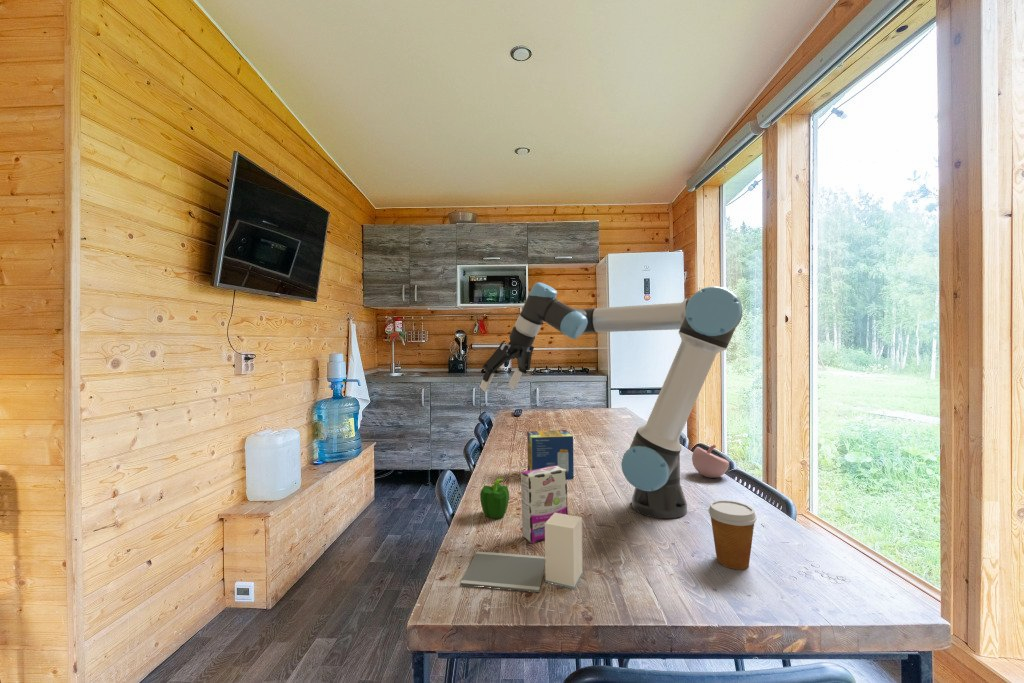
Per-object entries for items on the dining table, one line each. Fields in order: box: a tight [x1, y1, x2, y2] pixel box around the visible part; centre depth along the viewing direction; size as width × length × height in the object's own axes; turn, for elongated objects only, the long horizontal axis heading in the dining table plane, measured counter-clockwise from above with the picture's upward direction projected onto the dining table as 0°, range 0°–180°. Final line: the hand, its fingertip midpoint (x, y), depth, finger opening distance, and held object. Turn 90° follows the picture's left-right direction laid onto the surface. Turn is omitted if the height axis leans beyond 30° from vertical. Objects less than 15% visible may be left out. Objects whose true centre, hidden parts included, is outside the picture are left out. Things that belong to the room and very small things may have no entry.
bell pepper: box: [479, 478, 510, 520], centre depth 121 cm, size 8×8×10 cm
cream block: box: [544, 513, 584, 590], centre depth 88 cm, size 6×6×12 cm
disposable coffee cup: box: [707, 499, 758, 570], centre depth 94 cm, size 10×10×12 cm
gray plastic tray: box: [459, 551, 545, 593], centre depth 91 cm, size 16×13×1 cm
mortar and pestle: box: [691, 444, 730, 479], centre depth 152 cm, size 12×12×12 cm
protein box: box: [526, 429, 575, 480], centre depth 156 cm, size 10×15×16 cm
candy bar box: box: [520, 466, 569, 544], centre depth 108 cm, size 11×5×16 cm, turn 118°
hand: (497, 388), depth 138 cm, fingers open, 13 cm apart
